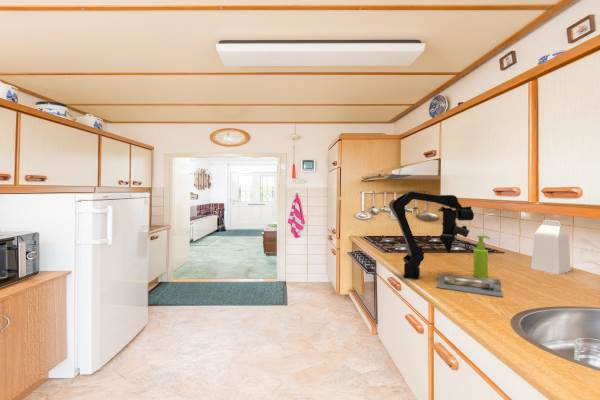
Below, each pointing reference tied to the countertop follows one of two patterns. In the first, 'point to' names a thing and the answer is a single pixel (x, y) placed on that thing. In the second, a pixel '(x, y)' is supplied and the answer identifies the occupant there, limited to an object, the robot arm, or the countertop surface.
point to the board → (464, 288)
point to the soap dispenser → (481, 259)
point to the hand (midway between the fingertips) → (448, 252)
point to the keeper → (495, 283)
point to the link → (465, 282)
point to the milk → (551, 248)
